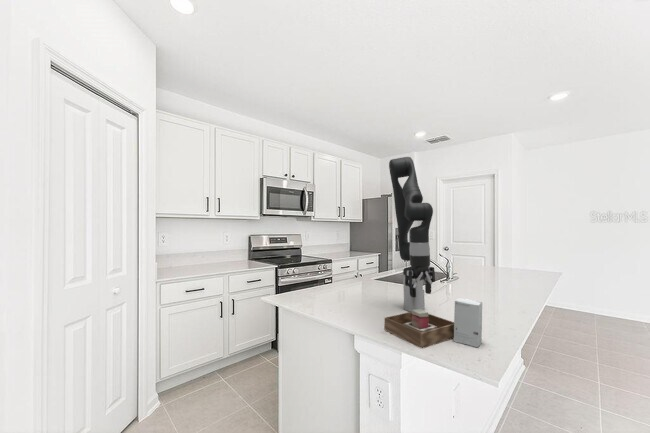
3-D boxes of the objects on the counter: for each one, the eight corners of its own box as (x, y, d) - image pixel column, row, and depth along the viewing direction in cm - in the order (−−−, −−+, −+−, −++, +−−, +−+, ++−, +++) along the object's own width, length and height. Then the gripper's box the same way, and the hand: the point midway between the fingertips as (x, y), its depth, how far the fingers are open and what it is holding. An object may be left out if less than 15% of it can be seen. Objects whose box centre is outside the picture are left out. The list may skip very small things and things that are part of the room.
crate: (418, 321, 122) (418, 310, 123) (457, 336, 106) (457, 323, 106) (384, 330, 113) (384, 317, 113) (422, 348, 97) (421, 333, 97)
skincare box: (453, 341, 102) (452, 300, 102) (458, 336, 106) (457, 297, 107) (479, 348, 96) (478, 304, 96) (483, 342, 101) (482, 300, 101)
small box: (411, 329, 111) (411, 309, 112) (420, 328, 113) (420, 308, 113) (419, 334, 107) (419, 313, 107) (429, 332, 108) (428, 312, 108)
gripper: (424, 251, 117) (425, 290, 117) (399, 254, 110) (400, 296, 110) (439, 253, 110) (440, 294, 110) (414, 256, 103) (415, 300, 103)
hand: (420, 295), depth 110 cm, fingers open, 8 cm apart
